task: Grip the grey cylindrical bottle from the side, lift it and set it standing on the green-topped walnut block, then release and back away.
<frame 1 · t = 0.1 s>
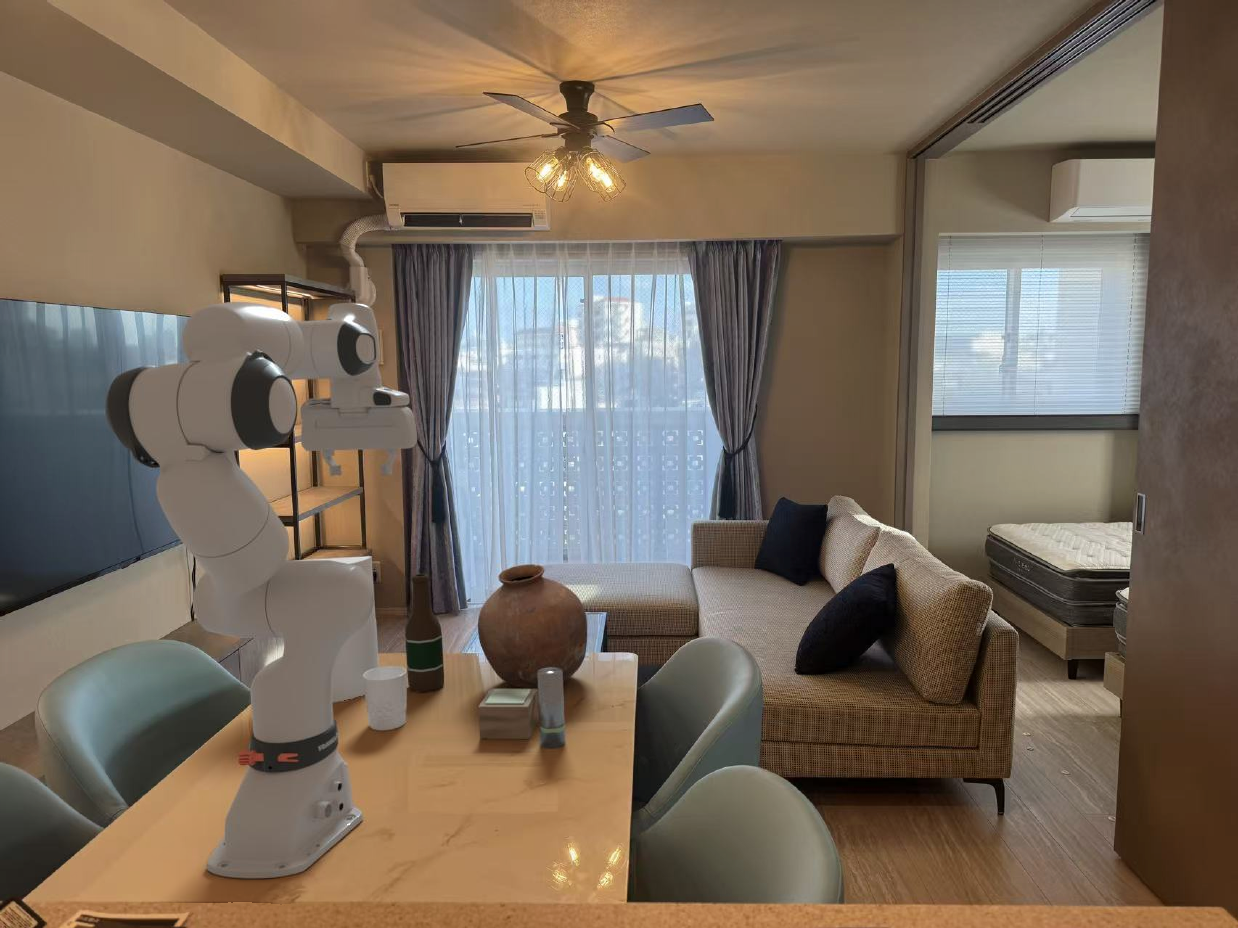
hand: (361, 475, 155), 48 cm above the table, tool pointing down, fingers open, 8 cm apart
pottery: (535, 684, 185), on the table
stand block: (510, 728, 161), on the table
grey cylindrical bottle: (552, 742, 154), on the table
cylinder: (338, 688, 186), on the table
white cup: (388, 724, 165), on the table
beer bottle: (426, 687, 185), on the table
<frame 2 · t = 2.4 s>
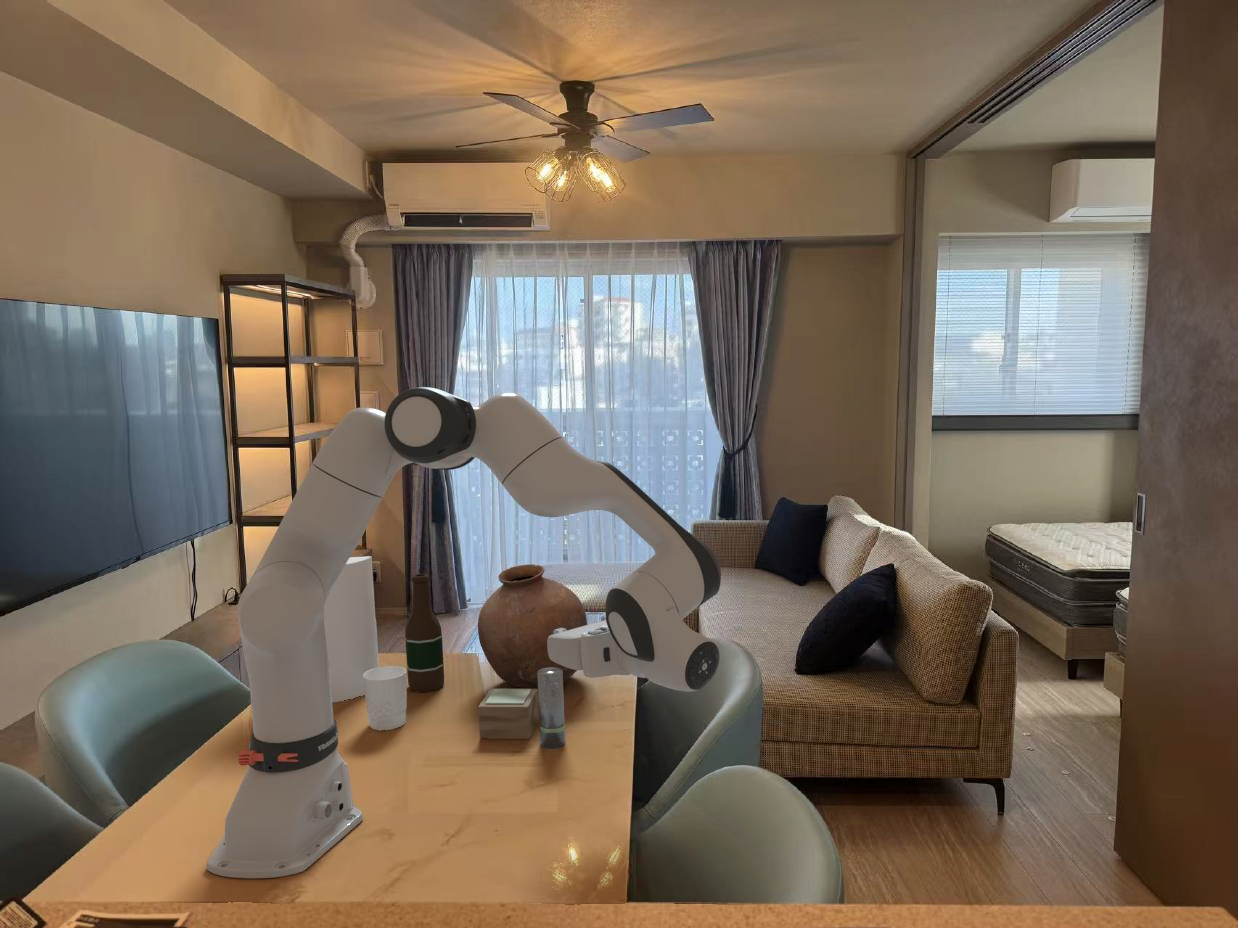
hand: (581, 626, 143), 23 cm above the table, tool horizontal, fingers open, 8 cm apart
nothing on the table moved.
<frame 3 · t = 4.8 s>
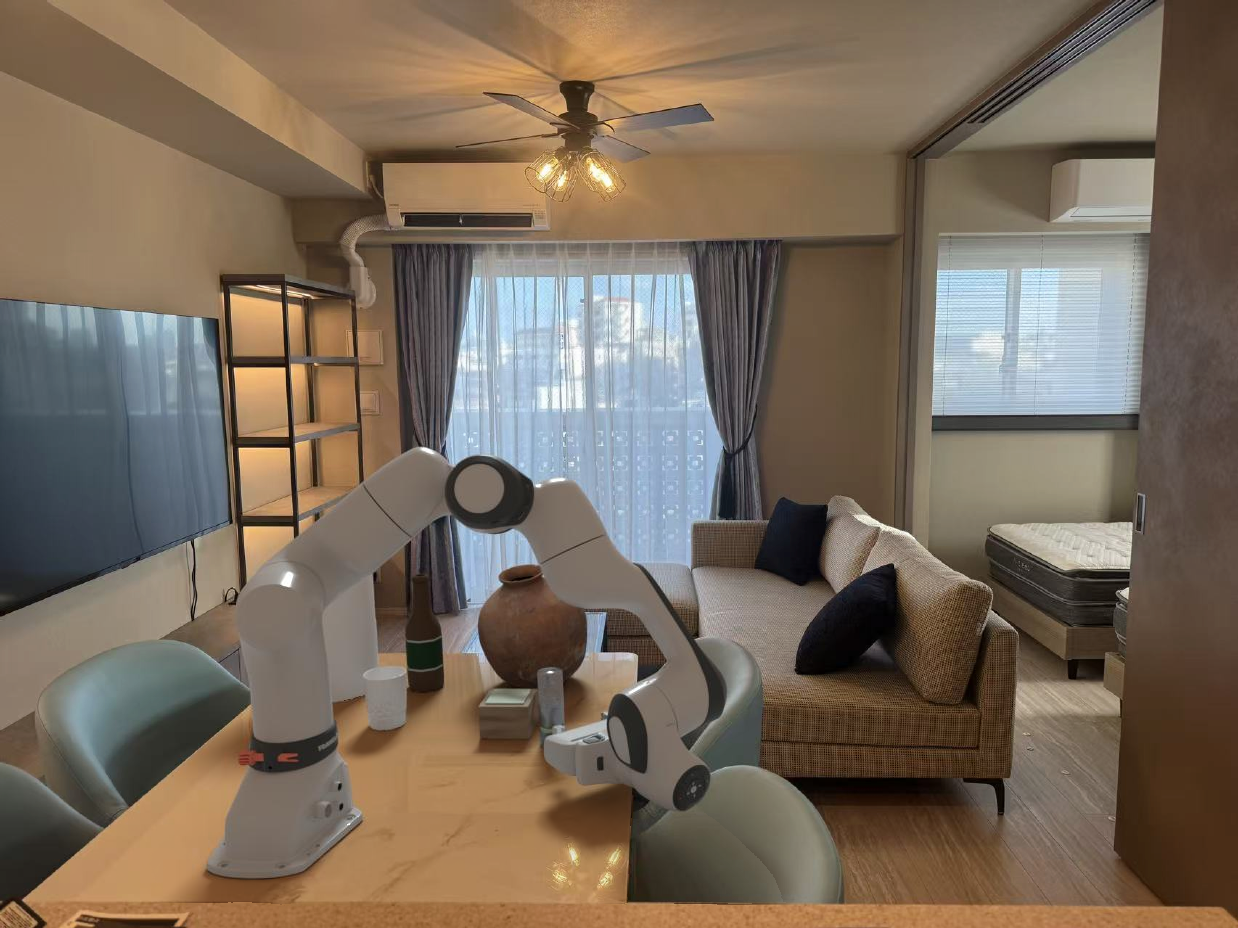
hand: (580, 722, 145), 7 cm above the table, tool horizontal, fingers open, 8 cm apart
nothing on the table moved.
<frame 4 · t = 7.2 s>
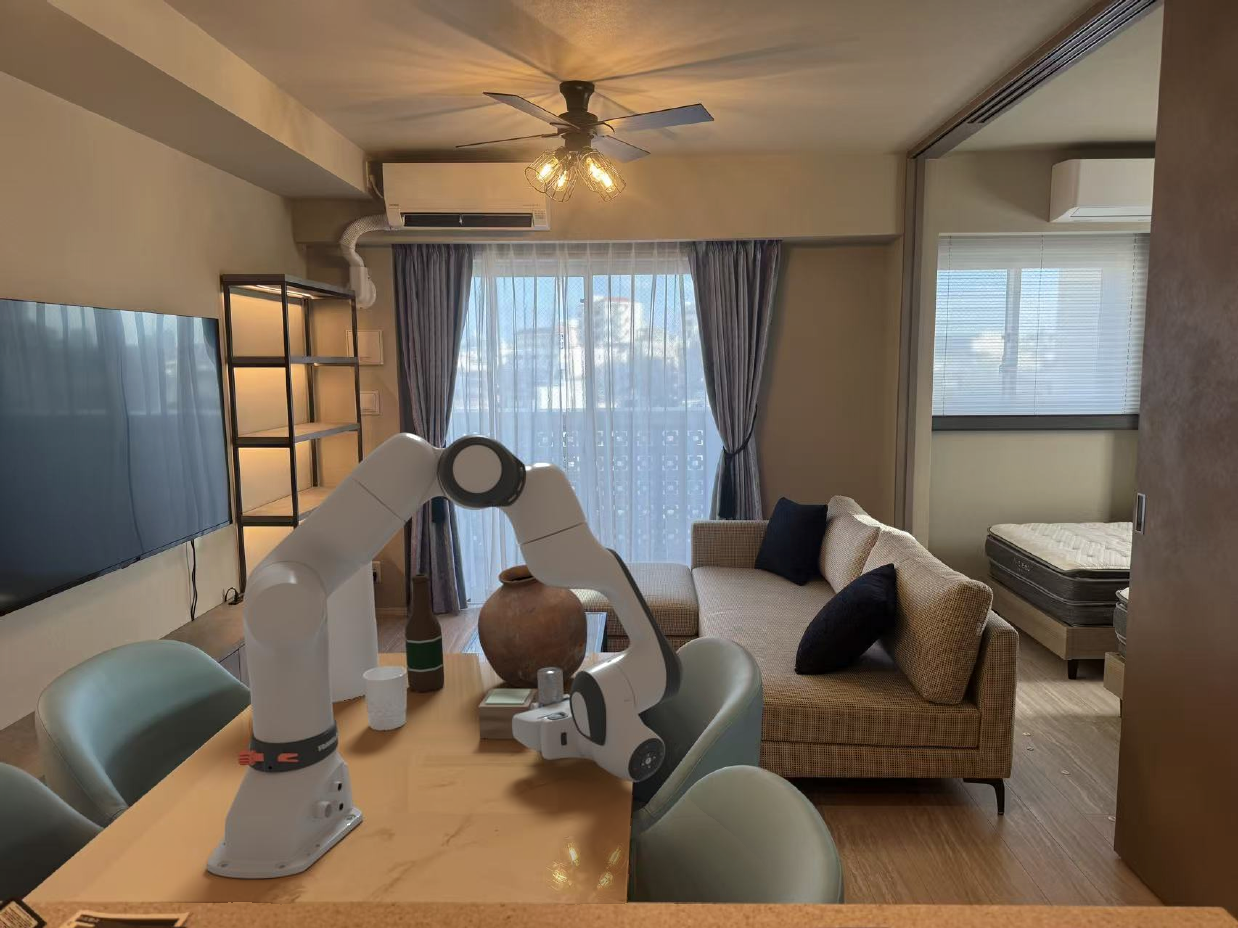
hand: (548, 702, 154), 7 cm above the table, tool horizontal, fingers closed on grey cylindrical bottle, 4 cm apart
grey cylindrical bottle: (552, 742, 154), on the table, touching gripper
everything else where it was.
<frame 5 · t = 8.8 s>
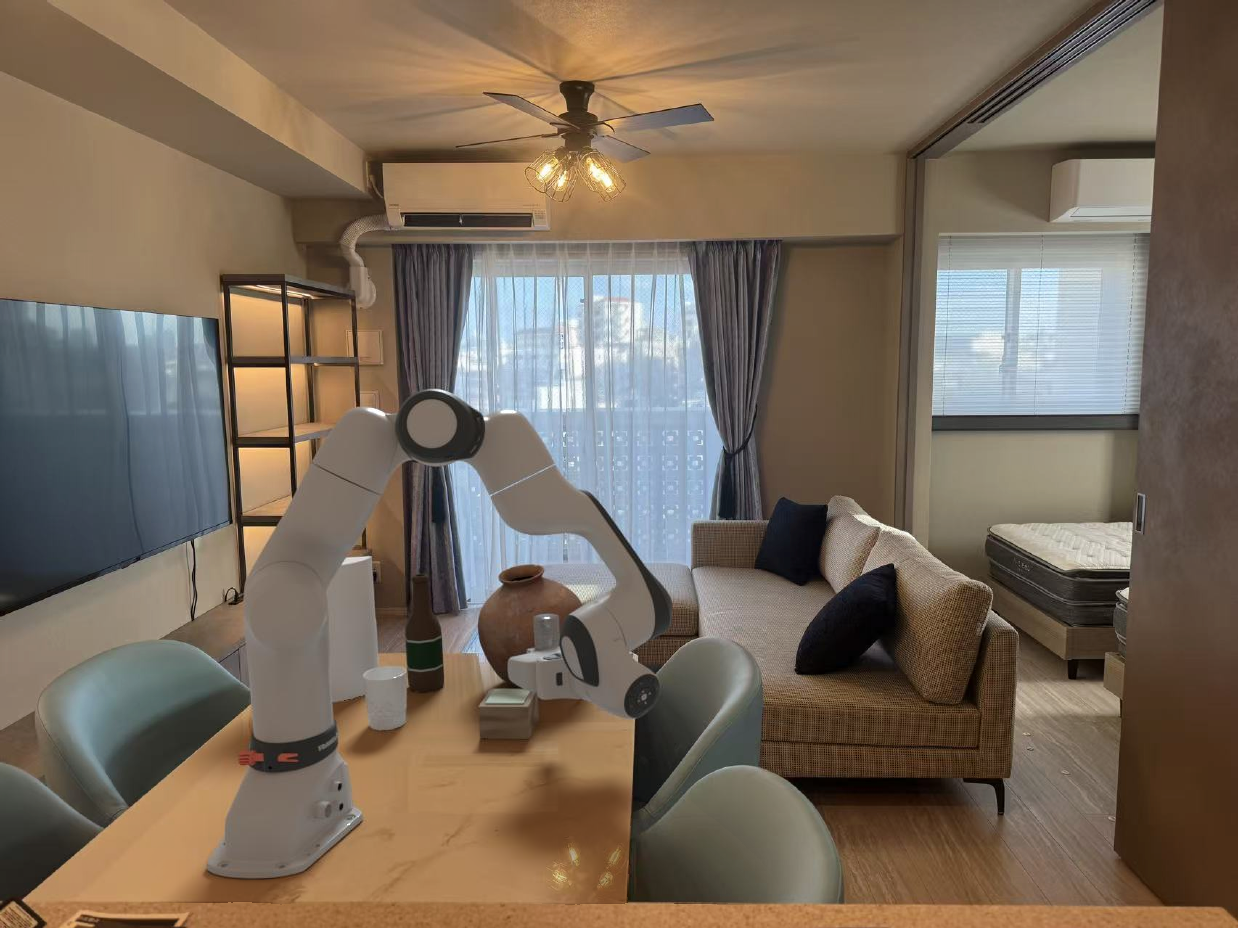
hand: (544, 649, 153), 17 cm above the table, tool horizontal, fingers closed on grey cylindrical bottle, 4 cm apart
grey cylindrical bottle: (549, 689, 153), point 10 cm above the table, touching gripper
everything else where it was.
when the fingers open (14 cm above the table, at t = 10.5 s): grey cylindrical bottle drops 1 cm, resting on stand block.
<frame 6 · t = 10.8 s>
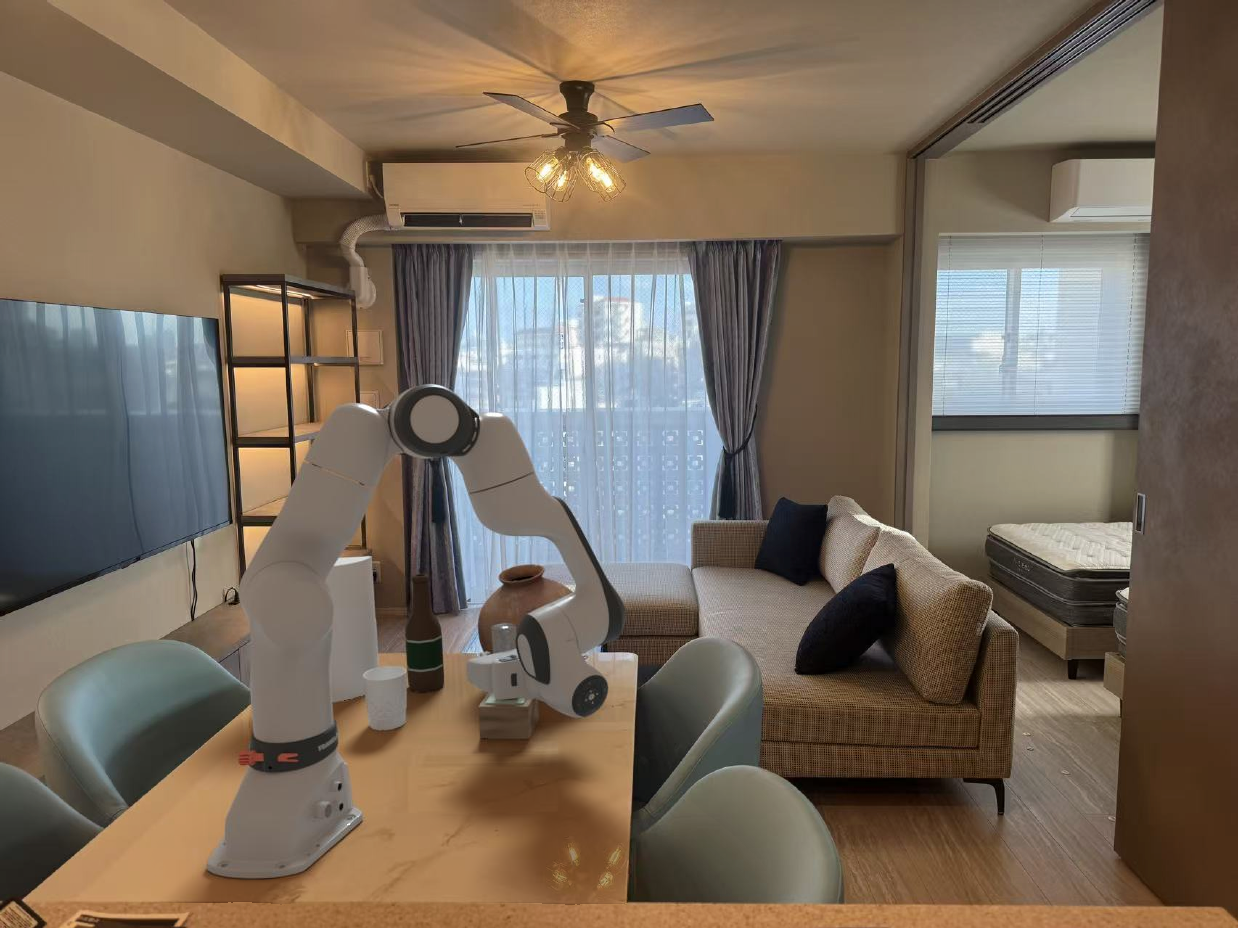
hand: (504, 651, 160), 14 cm above the table, tool horizontal, fingers open, 7 cm apart
grey cylindrical bottle: (508, 695, 160), point 6 cm above the table, touching stand block
everything else where it was.
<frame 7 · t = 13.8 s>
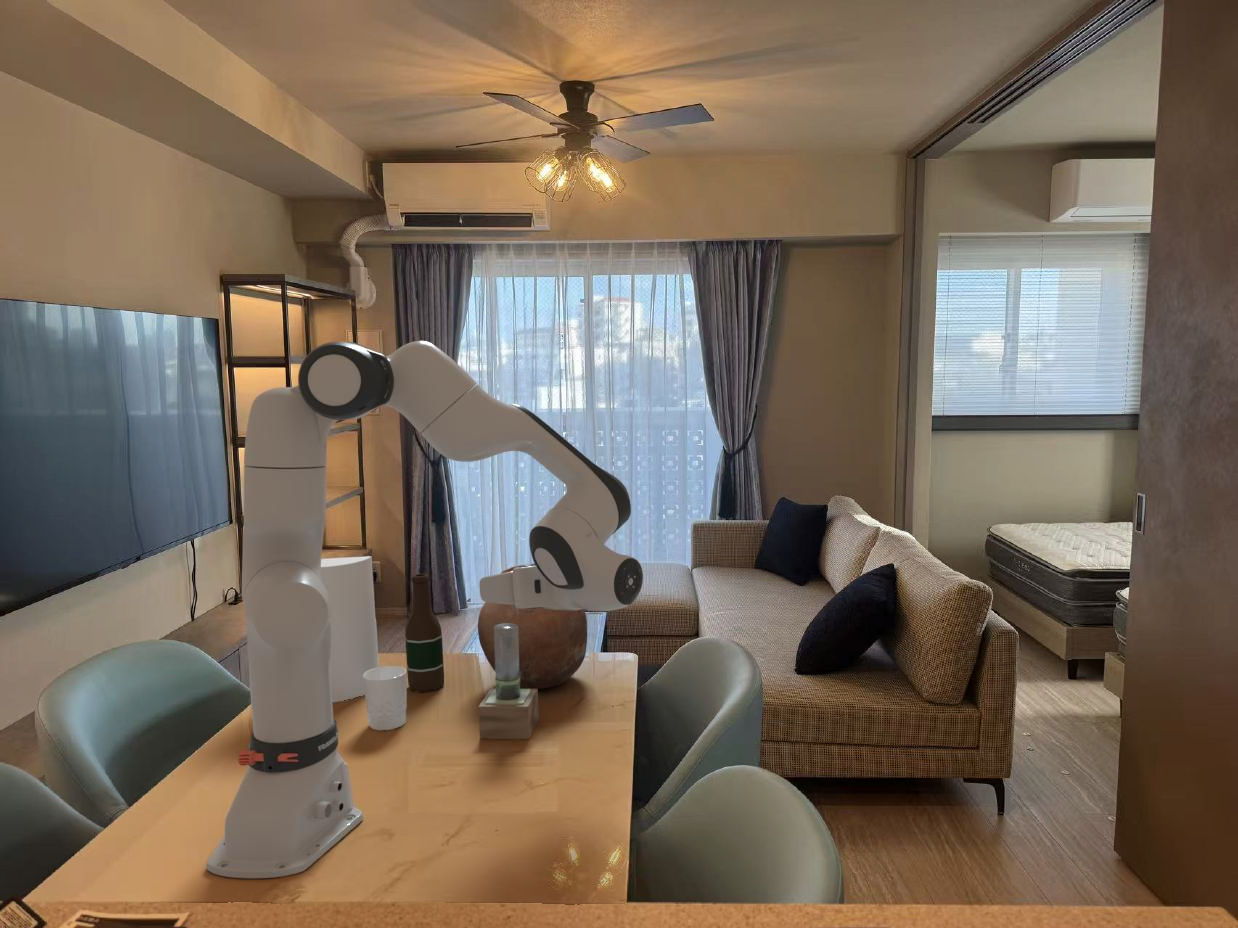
hand: (509, 583, 150), 29 cm above the table, tool horizontal, fingers open, 8 cm apart
nothing on the table moved.
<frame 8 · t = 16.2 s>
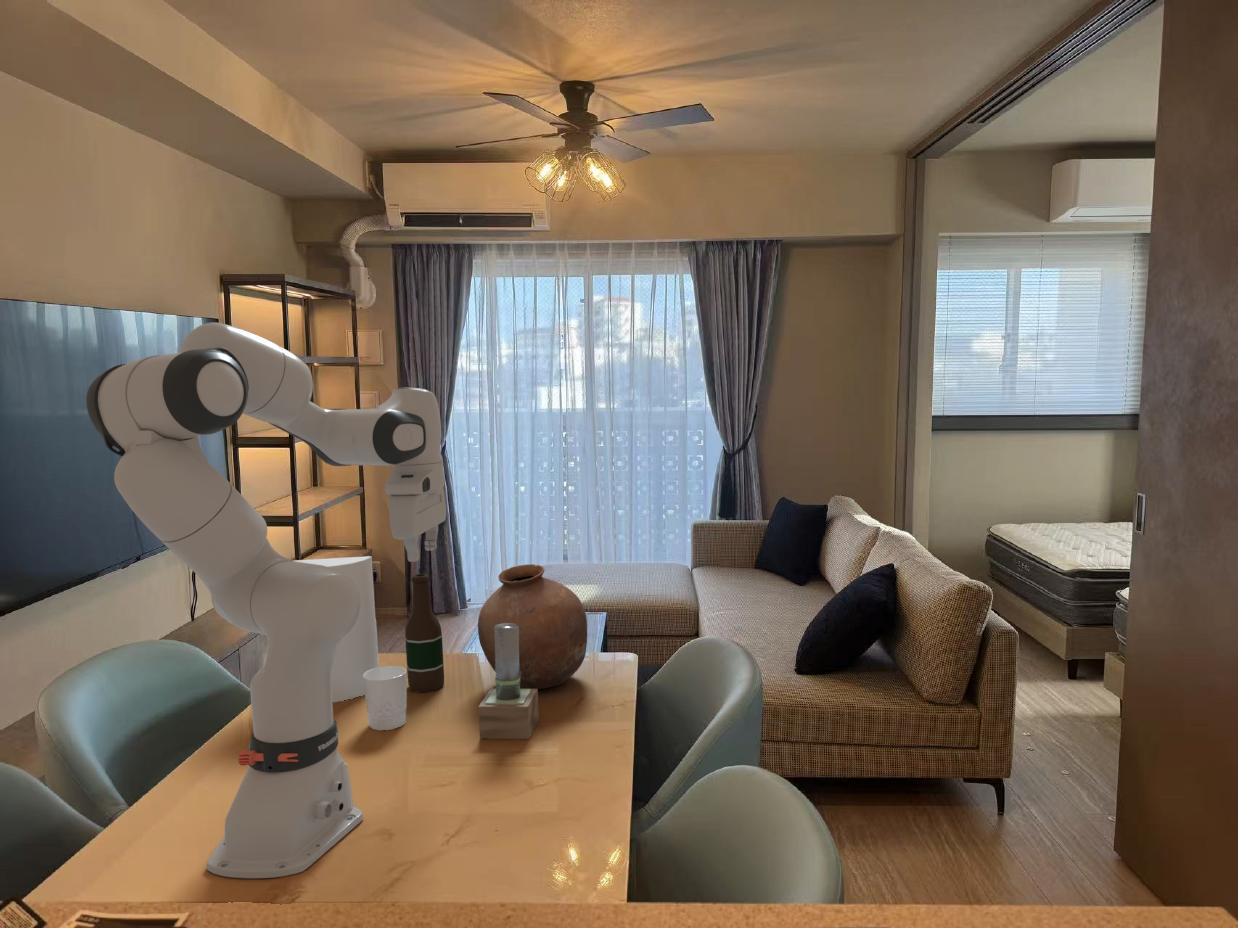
hand: (422, 555, 157), 33 cm above the table, tool pointing down, fingers open, 8 cm apart
nothing on the table moved.
at the end: grey cylindrical bottle inside the target area on the stand block (0.1 cm from its centre), point 6.3 cm above the stand block's base; grey cylindrical bottle tilted 1°; the gripper is holding nothing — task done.
